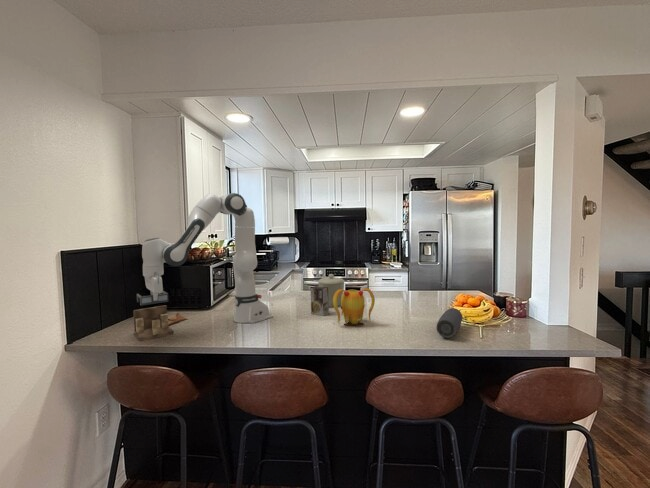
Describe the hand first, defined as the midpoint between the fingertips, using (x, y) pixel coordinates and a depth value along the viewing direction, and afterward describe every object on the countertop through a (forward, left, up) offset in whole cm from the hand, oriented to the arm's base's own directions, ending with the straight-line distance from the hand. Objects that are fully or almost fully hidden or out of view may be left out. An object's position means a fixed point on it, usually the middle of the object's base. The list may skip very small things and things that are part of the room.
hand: (154, 299), depth 152 cm
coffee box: (-84, +24, -19) cm, 89 cm away
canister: (-102, +14, -19) cm, 104 cm away
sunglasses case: (-11, -19, -19) cm, 29 cm away
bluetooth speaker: (-109, +93, -19) cm, 144 cm away
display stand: (0, -6, -18) cm, 19 cm away
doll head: (-85, +51, -19) cm, 100 cm away
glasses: (0, -4, -2) cm, 5 cm away
